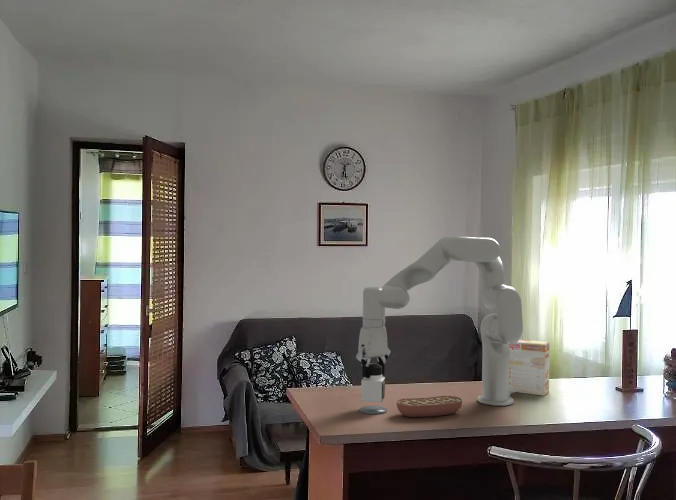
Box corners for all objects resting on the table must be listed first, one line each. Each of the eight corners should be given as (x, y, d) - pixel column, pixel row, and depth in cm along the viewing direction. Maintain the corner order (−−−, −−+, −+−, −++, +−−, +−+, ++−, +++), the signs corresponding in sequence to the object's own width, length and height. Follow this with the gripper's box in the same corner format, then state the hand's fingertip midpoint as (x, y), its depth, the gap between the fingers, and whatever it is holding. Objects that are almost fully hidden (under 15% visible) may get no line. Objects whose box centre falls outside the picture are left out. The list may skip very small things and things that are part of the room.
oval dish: (454, 409, 225) (454, 394, 225) (468, 416, 216) (468, 401, 216) (392, 414, 219) (392, 399, 219) (403, 422, 210) (403, 406, 209)
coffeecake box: (549, 392, 249) (550, 341, 249) (544, 396, 243) (545, 344, 243) (510, 387, 257) (511, 338, 257) (505, 391, 251) (505, 340, 251)
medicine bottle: (382, 402, 218) (382, 366, 218) (361, 401, 219) (361, 365, 219) (384, 397, 225) (385, 362, 225) (364, 396, 226) (364, 361, 226)
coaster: (373, 405, 229) (373, 404, 229) (392, 411, 222) (392, 409, 222) (354, 410, 223) (354, 408, 223) (373, 415, 216) (373, 414, 216)
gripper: (383, 320, 230) (383, 371, 230) (347, 324, 219) (347, 377, 219) (399, 322, 224) (398, 374, 225) (363, 327, 213) (362, 381, 213)
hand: (373, 375), depth 222 cm, fingers closed on medicine bottle, 6 cm apart
